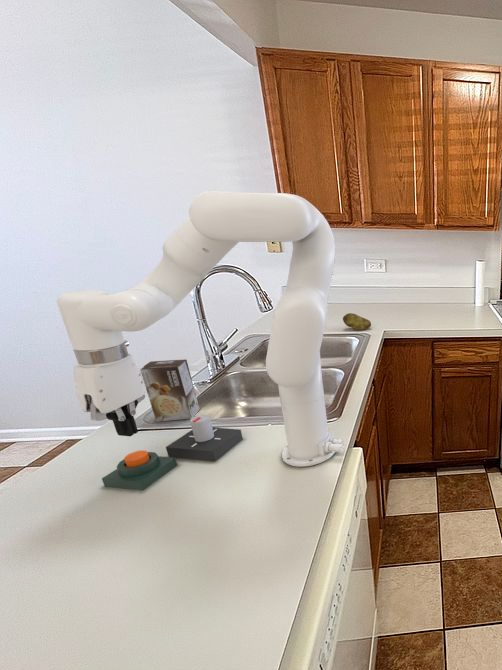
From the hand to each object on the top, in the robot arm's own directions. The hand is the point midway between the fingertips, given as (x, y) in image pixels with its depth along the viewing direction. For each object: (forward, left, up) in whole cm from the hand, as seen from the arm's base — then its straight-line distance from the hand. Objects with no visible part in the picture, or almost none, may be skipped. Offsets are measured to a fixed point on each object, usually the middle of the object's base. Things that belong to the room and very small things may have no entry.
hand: (128, 433), depth 85 cm
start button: (0, 0, -7) cm, 7 cm away
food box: (+14, -26, -11) cm, 32 cm away
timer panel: (-6, -12, -11) cm, 17 cm away
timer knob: (-6, -12, -8) cm, 16 cm away
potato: (-2, -119, -7) cm, 119 cm away
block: (0, 0, -11) cm, 11 cm away
